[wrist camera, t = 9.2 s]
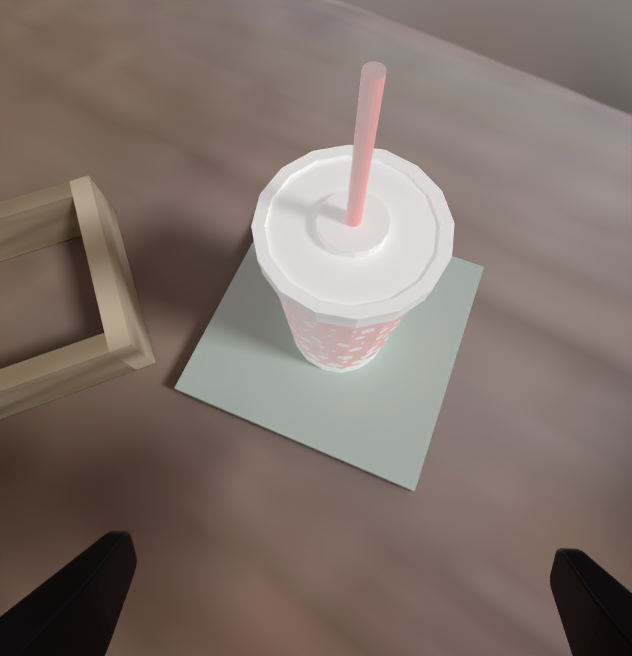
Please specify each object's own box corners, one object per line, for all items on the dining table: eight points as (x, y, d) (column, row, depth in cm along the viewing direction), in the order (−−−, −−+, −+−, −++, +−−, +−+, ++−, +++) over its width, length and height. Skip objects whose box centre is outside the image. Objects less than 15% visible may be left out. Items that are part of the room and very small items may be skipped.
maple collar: (155, 362, 21) (131, 344, 19) (-47, 436, 20) (-106, 428, 17) (114, 210, 25) (88, 175, 22) (-63, 266, 23) (-115, 236, 21)
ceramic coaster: (409, 490, 19) (414, 491, 18) (180, 392, 21) (174, 388, 20) (477, 275, 23) (483, 266, 22) (278, 206, 25) (277, 195, 24)
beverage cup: (305, 258, 22) (288, -60, 9) (415, 296, 22) (566, 8, 8) (257, 360, 20) (150, 142, 7) (376, 407, 20) (497, 255, 6)
